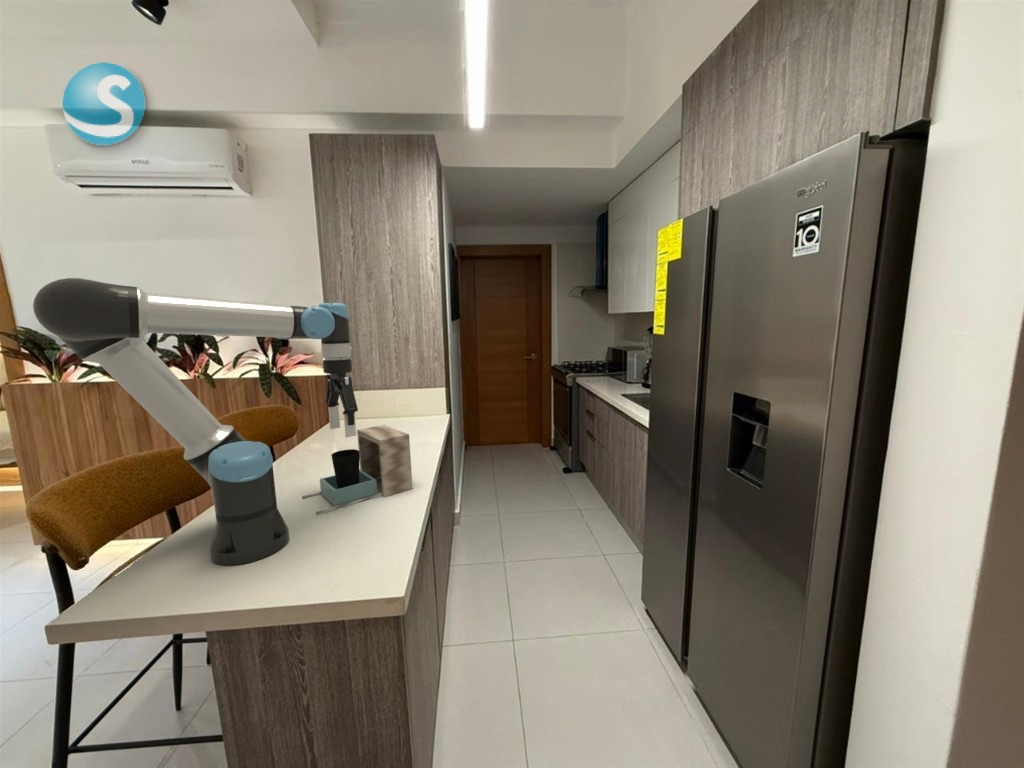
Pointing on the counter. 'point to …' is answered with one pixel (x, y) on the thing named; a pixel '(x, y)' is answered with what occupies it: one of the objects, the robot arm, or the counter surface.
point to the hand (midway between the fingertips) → (342, 432)
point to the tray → (348, 489)
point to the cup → (346, 467)
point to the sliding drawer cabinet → (382, 461)
